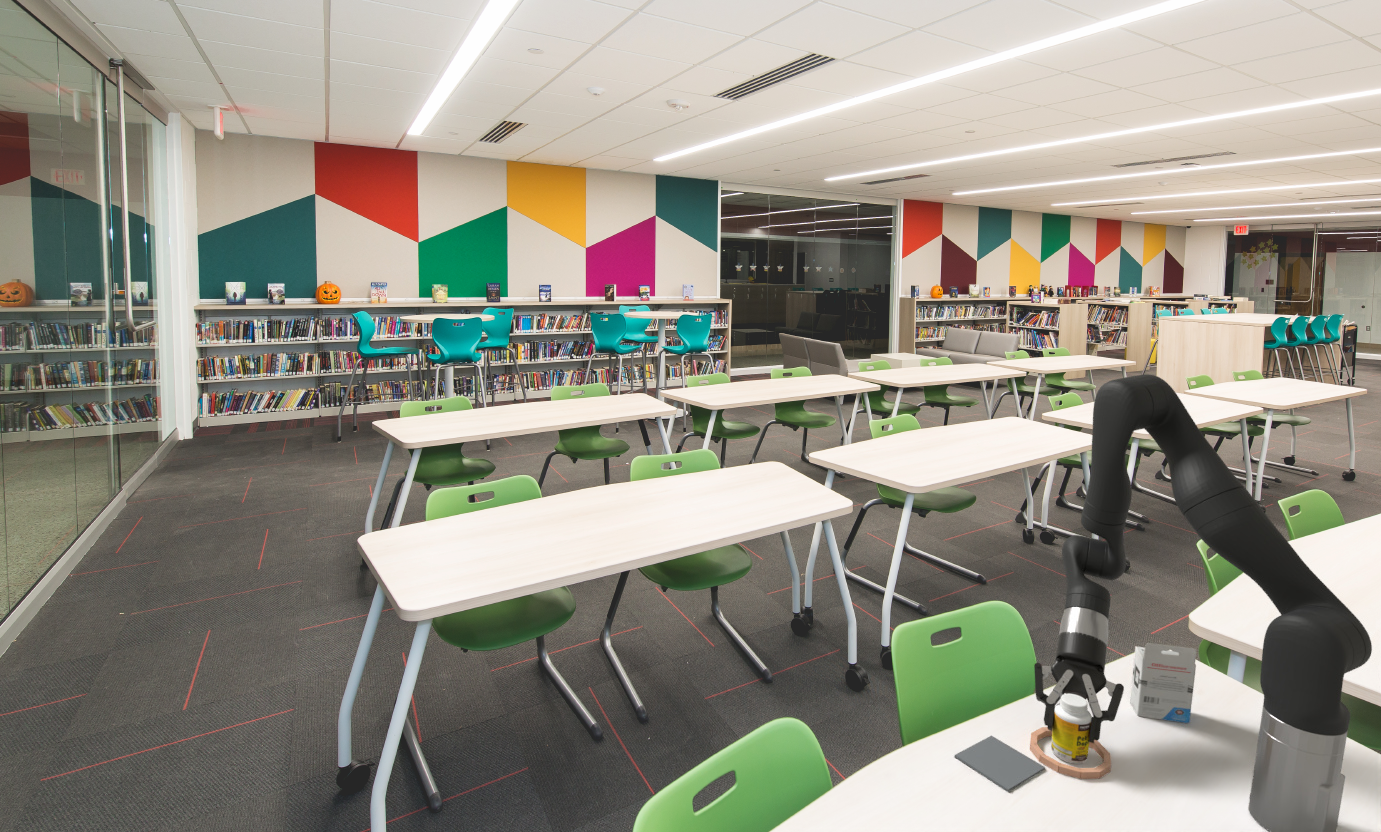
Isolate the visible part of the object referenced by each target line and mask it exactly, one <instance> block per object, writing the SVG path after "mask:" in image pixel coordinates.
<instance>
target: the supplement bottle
mask: <svg viewBox="0 0 1381 832" xmlns="http://www.w3.org/2000/svg"><path fill="white" fill-rule="evenodd" d="M1088 706H1089V703H1088V700H1087V699H1086V700H1085V699H1084V698H1083V697H1081V696H1078V695H1075V694H1066V693H1065V694H1063V695H1062V696H1061V699H1060V700H1059V703H1057V704H1056V705H1055V710H1054V721H1053V732H1052V737H1051V744H1050V745H1051V746H1050V747H1051V751H1052V753H1053V754H1054V755H1055V756H1056V757H1057V758H1058V759H1060V760H1061V761H1063V762H1066V763H1069V764H1076V765H1077V764H1083V763H1085V762H1086V761H1087V760H1088V758H1089V757H1088V756H1089V751H1090V750H1089V749H1090V747H1089V737H1090V728H1091V720H1092V717H1093V715H1092V713H1091V712H1090V711H1089V710H1088V708H1089V707H1088Z"/></svg>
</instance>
